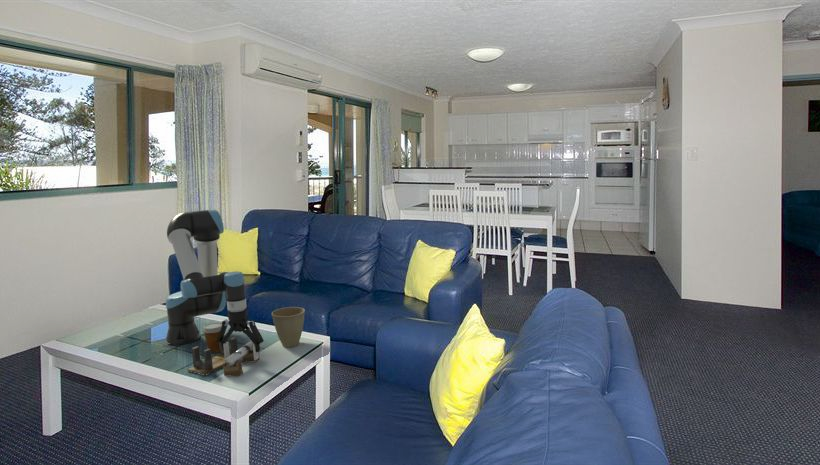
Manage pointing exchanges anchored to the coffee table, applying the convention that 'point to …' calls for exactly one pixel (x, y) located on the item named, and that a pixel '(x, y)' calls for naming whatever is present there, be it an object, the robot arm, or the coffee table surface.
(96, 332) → the coffee table surface
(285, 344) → the plant pot
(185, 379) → the coffee table surface
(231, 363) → the air tube
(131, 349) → the coffee table surface
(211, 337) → the disposable coffee cup
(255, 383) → the coffee table surface
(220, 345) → the collar block
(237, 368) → the tube stand
